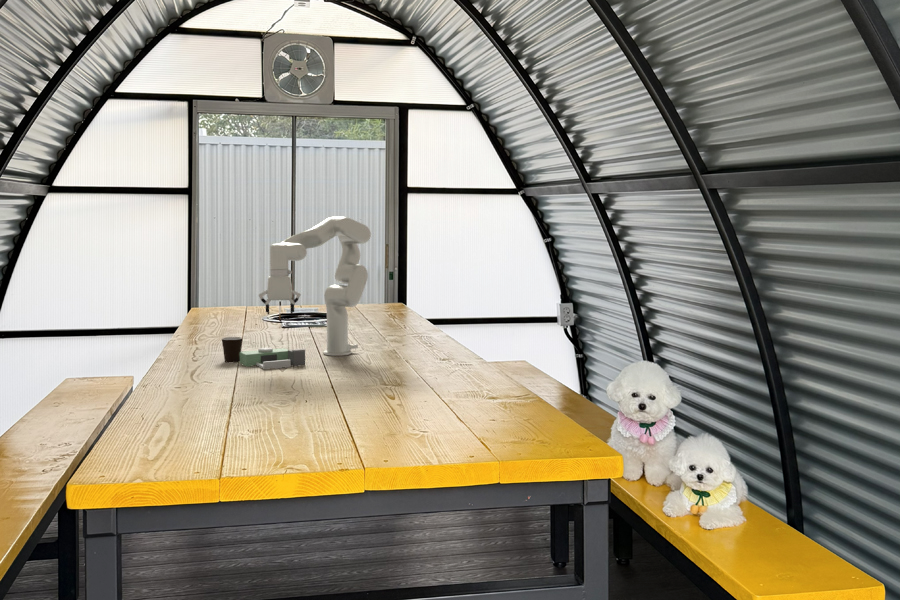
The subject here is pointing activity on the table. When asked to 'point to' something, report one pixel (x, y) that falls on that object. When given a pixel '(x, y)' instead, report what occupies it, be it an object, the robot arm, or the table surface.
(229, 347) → the coffee mug
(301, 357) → the grey block
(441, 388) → the table surface
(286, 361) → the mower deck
